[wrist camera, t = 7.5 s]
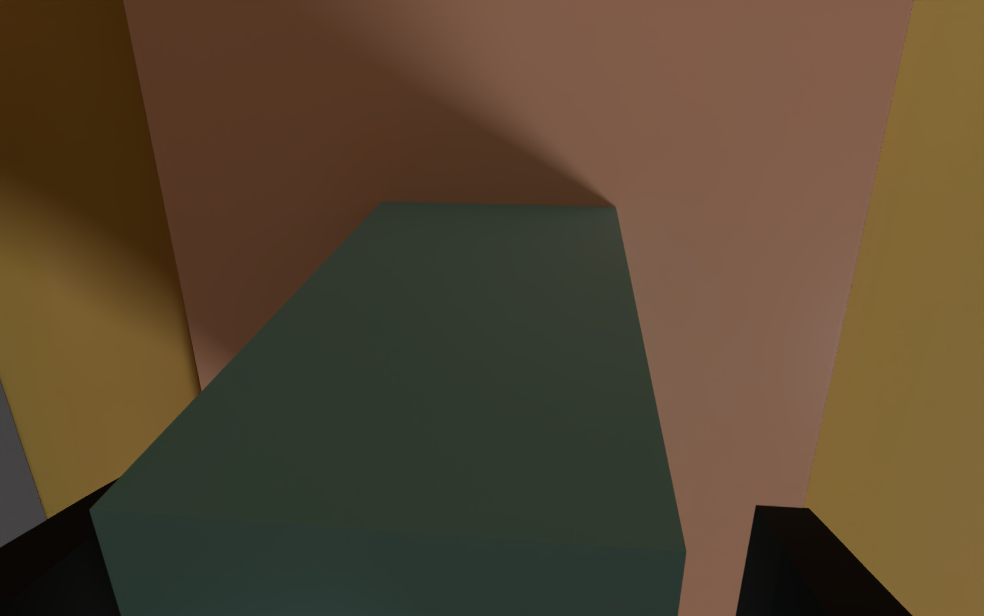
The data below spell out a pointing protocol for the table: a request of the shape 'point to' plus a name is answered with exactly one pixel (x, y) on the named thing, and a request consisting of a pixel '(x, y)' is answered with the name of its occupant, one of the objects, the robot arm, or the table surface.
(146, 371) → the table surface
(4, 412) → the pocket board
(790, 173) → the terracotta tile
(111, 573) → the teal block
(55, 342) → the table surface
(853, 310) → the table surface
